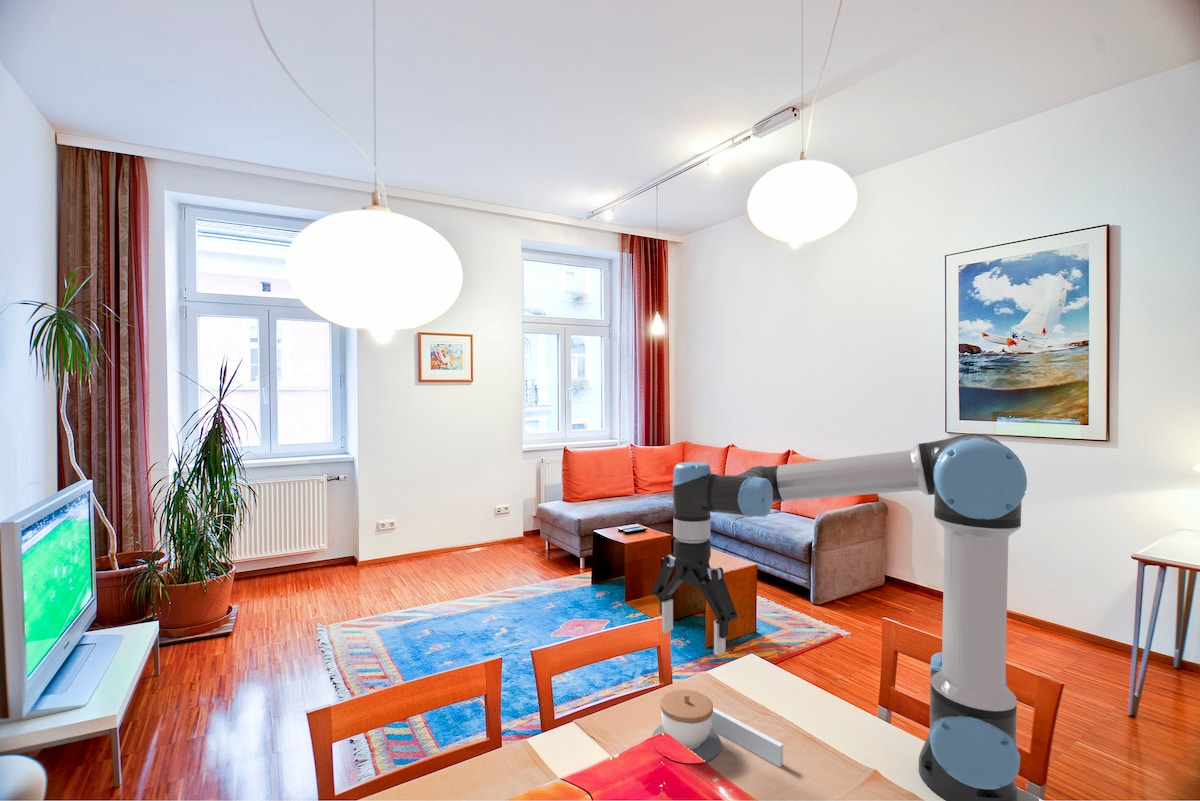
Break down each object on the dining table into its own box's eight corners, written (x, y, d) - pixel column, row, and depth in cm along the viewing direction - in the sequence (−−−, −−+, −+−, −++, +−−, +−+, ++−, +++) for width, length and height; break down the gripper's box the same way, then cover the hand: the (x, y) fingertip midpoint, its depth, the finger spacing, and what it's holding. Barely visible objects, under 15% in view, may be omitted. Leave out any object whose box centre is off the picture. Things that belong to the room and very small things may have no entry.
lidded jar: (710, 726, 122) (710, 682, 121) (715, 758, 111) (715, 711, 111) (660, 723, 123) (660, 680, 122) (660, 755, 112) (660, 708, 112)
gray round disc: (734, 743, 116) (734, 742, 116) (690, 774, 107) (690, 772, 107) (682, 714, 127) (682, 712, 127) (637, 739, 117) (637, 738, 117)
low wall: (783, 764, 110) (783, 744, 110) (779, 767, 109) (779, 746, 109) (693, 715, 126) (694, 697, 126) (690, 717, 125) (690, 699, 125)
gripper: (755, 547, 109) (755, 656, 110) (659, 524, 128) (659, 618, 128) (732, 554, 104) (732, 669, 105) (635, 530, 123) (636, 627, 123)
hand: (692, 641), depth 116 cm, fingers open, 13 cm apart
